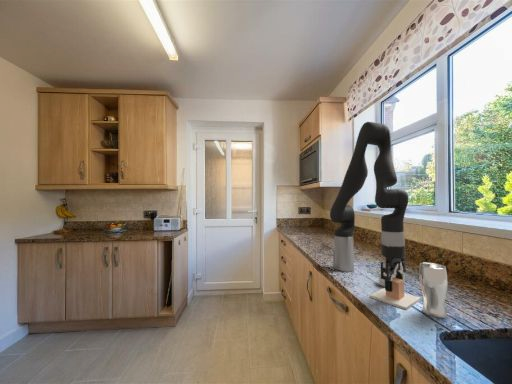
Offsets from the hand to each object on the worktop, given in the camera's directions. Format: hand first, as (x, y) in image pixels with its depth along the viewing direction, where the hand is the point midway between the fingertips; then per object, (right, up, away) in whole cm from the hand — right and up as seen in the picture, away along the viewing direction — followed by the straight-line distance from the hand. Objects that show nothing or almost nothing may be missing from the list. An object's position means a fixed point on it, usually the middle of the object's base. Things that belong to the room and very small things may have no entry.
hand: (394, 288), depth 82 cm
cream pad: (0, -4, 0) cm, 4 cm away
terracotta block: (0, -3, 0) cm, 3 cm away
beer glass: (+6, -4, -11) cm, 13 cm away
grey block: (+5, -4, +13) cm, 14 cm away
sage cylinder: (+13, -4, +18) cm, 22 cm away
